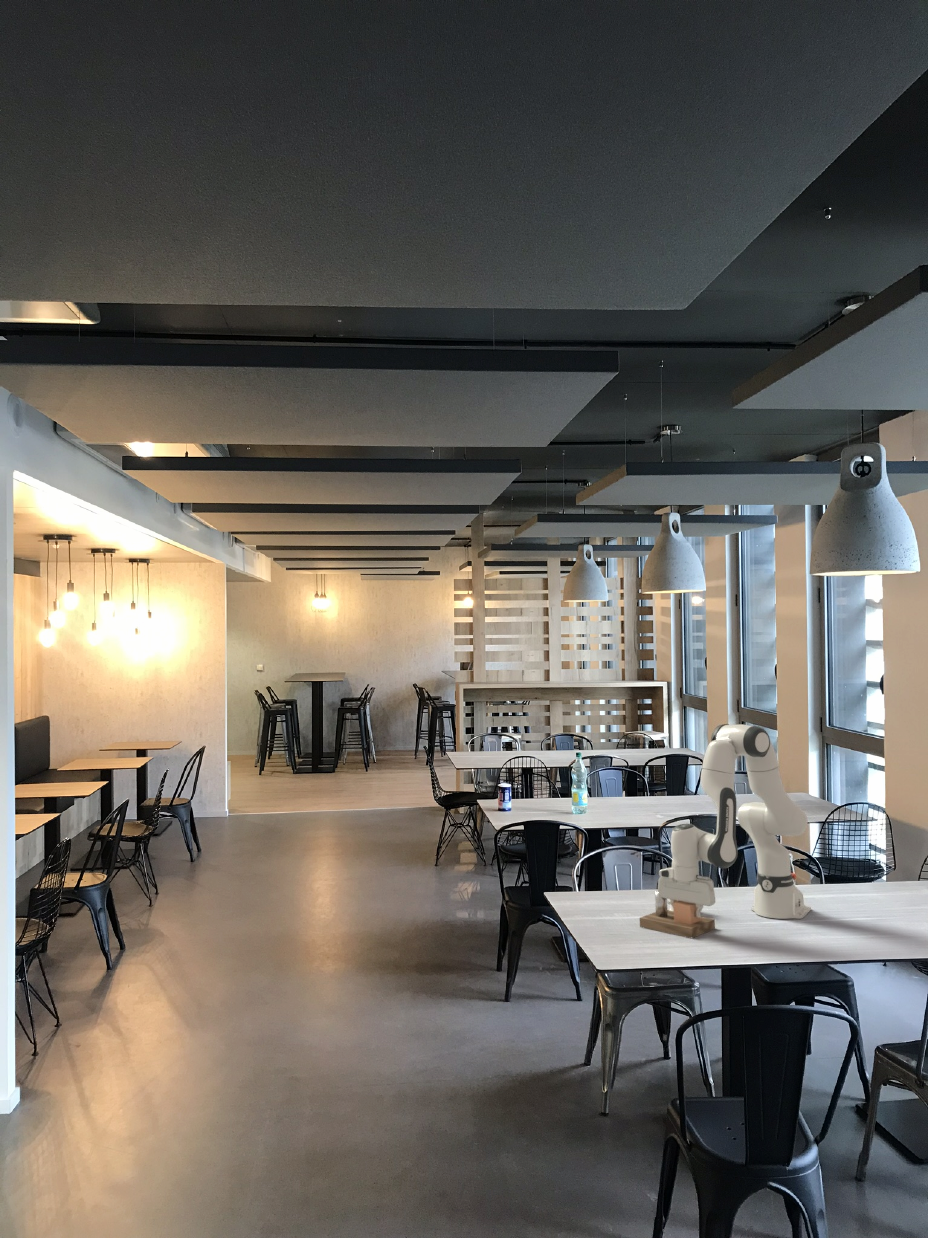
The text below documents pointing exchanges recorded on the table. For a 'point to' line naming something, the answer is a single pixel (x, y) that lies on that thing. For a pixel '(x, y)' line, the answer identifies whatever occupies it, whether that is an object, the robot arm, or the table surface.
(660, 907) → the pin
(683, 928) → the board
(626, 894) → the table surface
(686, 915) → the tan wooden block
